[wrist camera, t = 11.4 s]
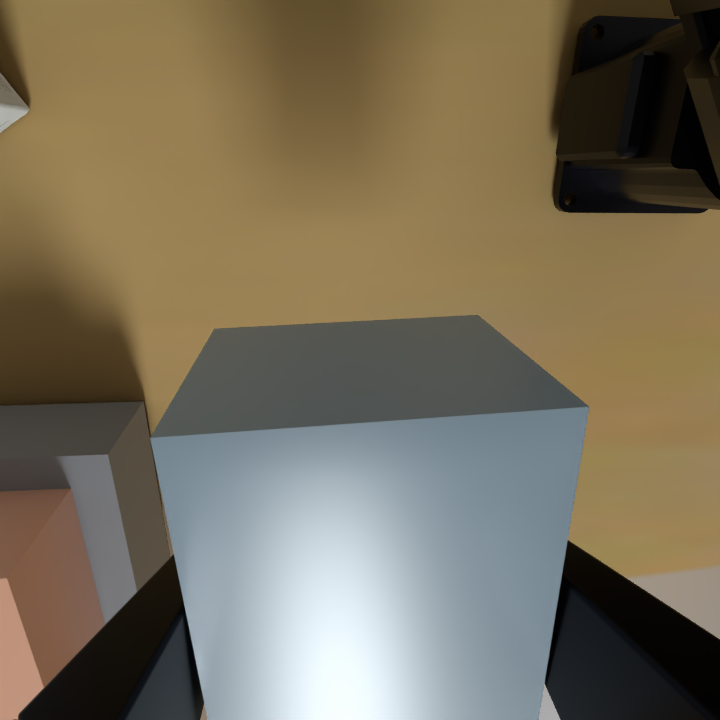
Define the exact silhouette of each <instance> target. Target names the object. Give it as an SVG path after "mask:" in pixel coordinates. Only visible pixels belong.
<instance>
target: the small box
mask: <svg viewBox="0 0 720 720" xmlns="http://www.w3.org/2000/svg"><path fill="white" fill-rule="evenodd" d="M28 111H29V108H28V106H27V105H26V104H25V103H24V101H23V100H22V99H21V98H20V96H19V95H18V94H17V93H16V92H15V90H14V89H13V88H12V87H11V85H10V84H9V83H8V81H7V80H6V79H5V78H4V76H3V75H2V74H1V73H0V133H1V132H2V131H3V130H5V129H6V128H7V127H8V126H10V125H11V124H13V123H14V122H15V121H17V120H18V119H19V118H21V117H22V116H24V115H25V114H26V113H27V112H28Z"/></svg>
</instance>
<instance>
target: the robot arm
mask: <svg viewBox="0 0 720 720" xmlns="http://www.w3.org/2000/svg"><path fill="white" fill-rule="evenodd" d="M670 3H671V6H672V9H673V13H674V16H680V20H679V19H658V18H638V17H617V16H596V17H593V18H591V19H590V20H588V21H586V22H585V23H584V24H583V25H582V26H581V28H580V30H579V33H578V37H577V44H576V51H575V57H574V64H573V71H572V77H571V78H570V79H569V80H568V81H567V83H566V87H565V94H564V101H563V107H562V114H561V121H560V128H559V135H558V142H557V149H556V155H557V157H558V158H559V166H558V172H557V179H556V186H555V193H554V205H555V207H556V208H557V209H558V210H559V211H563V212H569V213H703V212H705V211H706V210H708V209H716V210H720V0H670ZM592 27H593V28H596V30H597V31H598V38H597V40H596V41H593V40H592V38H591V36H590V32H591V29H592ZM568 193H570V194H571V195H572V200H571V202H570V203H569V204H568V205H566V204H565V200H564V199H565V196H566V195H567V194H568ZM545 685H546V688H547V690H548V692H549V694H550V696H551V699H552V701H553V703H554V706H555V708H556V710H557V712H558V715H559V717H560V719H561V720H720V639H718V638H717V637H715V636H714V635H712V634H711V633H709V632H708V631H706V630H705V629H703V628H701V627H700V626H699V625H697V624H696V623H694V622H692V621H691V620H689V619H688V618H686V617H685V616H683V615H682V614H680V613H679V612H677V611H676V610H674V609H673V608H671V607H670V606H668V605H666V604H665V603H663V602H662V601H660V600H659V599H657V598H656V597H654V596H653V595H651V594H650V593H648V592H647V591H645V590H644V589H642V588H640V587H639V586H637V585H636V584H634V583H633V582H631V581H630V580H628V579H627V578H625V577H624V576H622V575H621V574H619V573H618V572H616V571H614V570H613V569H611V568H610V567H608V566H607V565H605V564H604V563H602V562H601V561H599V560H598V559H596V558H595V557H593V556H592V555H590V554H588V553H587V552H585V551H584V550H582V549H581V548H579V547H578V546H576V545H575V544H573V543H572V542H570V541H569V540H568V541H567V547H566V553H565V559H564V566H563V572H562V578H561V584H560V590H559V596H558V603H557V609H556V615H555V621H554V627H553V633H552V640H551V646H550V652H549V658H548V664H547V670H546V677H545ZM203 705H204V699H203V694H202V689H201V684H200V679H199V674H198V669H197V665H196V660H195V655H194V650H193V645H192V640H191V635H190V630H189V625H188V621H187V616H186V611H185V606H184V601H183V596H182V591H181V586H180V581H179V577H178V572H177V567H176V562H175V557H174V554H173V555H172V557H170V558H169V559H168V560H167V561H166V562H165V564H164V565H163V566H162V567H161V568H160V569H159V570H158V571H157V572H156V573H155V574H154V575H153V576H152V577H151V578H150V579H149V580H148V581H147V582H146V583H145V584H144V585H143V586H142V587H141V588H140V589H139V590H138V591H137V592H136V593H135V594H134V595H133V596H132V598H131V599H130V600H129V601H128V602H127V603H126V604H125V605H124V606H123V607H122V608H121V609H120V610H119V611H118V612H117V613H116V614H115V615H114V616H113V617H112V618H111V619H110V620H109V621H108V622H107V623H106V624H105V625H104V626H103V627H102V628H101V629H100V630H99V631H98V633H97V634H96V635H95V636H94V637H93V638H92V639H91V640H90V641H89V642H88V643H87V644H86V645H85V646H84V647H83V648H82V649H81V650H80V651H79V652H78V653H77V654H76V655H75V656H74V657H73V658H72V659H71V660H70V661H69V662H68V663H67V664H66V665H65V667H64V668H63V669H62V670H61V671H60V672H59V673H58V674H57V675H56V676H55V677H54V678H53V679H52V680H51V681H50V682H49V683H48V684H47V685H46V686H45V687H44V688H43V689H42V690H41V691H40V692H39V693H38V694H37V695H36V696H35V697H34V698H33V699H32V700H31V702H30V703H29V704H28V705H27V706H26V707H25V708H24V709H23V710H22V711H21V712H20V713H19V715H18V720H200V718H201V714H202V709H203ZM14 720H17V719H14Z"/></svg>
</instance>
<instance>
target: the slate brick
mask: <svg viewBox="0 0 720 720" xmlns="http://www.w3.org/2000/svg"><path fill="white" fill-rule="evenodd" d="M588 411H589V406H588V405H587V404H585V403H584V402H583V401H582V400H580V399H579V398H578V397H577V396H576V395H574V394H573V393H572V392H571V391H570V390H568V389H567V388H566V387H565V386H563V385H562V384H561V383H560V382H559V381H557V380H556V379H555V378H554V377H552V376H551V375H550V374H549V373H548V372H546V371H545V370H544V369H543V368H542V367H540V366H539V365H538V364H537V363H535V362H534V361H533V360H532V359H531V358H529V357H528V356H527V355H526V354H525V353H523V352H522V351H521V350H520V349H518V348H517V347H516V346H515V345H514V344H512V343H511V342H510V341H509V340H508V339H506V338H505V337H504V336H503V335H501V334H500V333H499V332H498V331H497V330H495V329H494V328H493V327H492V326H490V325H489V324H488V323H487V322H486V321H484V320H483V319H482V318H481V317H480V316H478V315H468V316H449V317H430V318H411V319H392V320H373V321H354V322H334V323H315V324H296V325H277V326H258V327H239V328H220V329H214V330H213V332H212V334H211V336H210V337H209V339H208V341H207V342H206V344H205V346H204V347H203V349H202V351H201V353H200V354H199V356H198V358H197V359H196V361H195V363H194V364H193V366H192V368H191V370H190V371H189V373H188V375H187V376H186V378H185V380H184V381H183V383H182V385H181V386H180V388H179V390H178V392H177V393H176V395H175V397H174V398H173V400H172V402H171V403H170V405H169V407H168V409H167V410H166V412H165V414H164V415H163V417H162V419H161V420H160V422H159V424H158V425H157V427H156V429H155V431H154V432H153V434H152V436H151V437H150V440H151V445H152V449H153V454H154V459H155V464H156V469H157V474H158V479H159V484H160V489H161V493H162V498H163V503H164V508H165V513H166V518H167V523H168V527H169V532H170V537H171V542H172V547H173V552H174V557H175V562H176V567H177V572H178V577H179V581H180V586H181V591H182V596H183V601H184V606H185V611H186V616H187V621H188V625H189V630H190V635H191V640H192V645H193V650H194V655H195V660H196V665H197V669H198V674H199V679H200V684H201V689H202V694H203V699H204V703H205V709H206V713H207V718H208V720H539V714H540V707H541V701H542V695H543V689H544V683H545V677H546V670H547V664H548V658H549V652H550V646H551V640H552V633H553V627H554V621H555V615H556V609H557V603H558V596H559V590H560V584H561V578H562V572H563V566H564V559H565V553H566V547H567V541H568V535H569V529H570V522H571V516H572V510H573V504H574V498H575V492H576V485H577V479H578V473H579V467H580V461H581V455H582V448H583V442H584V436H585V430H586V424H587V418H588Z"/></svg>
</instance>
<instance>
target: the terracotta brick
mask: <svg viewBox="0 0 720 720" xmlns="http://www.w3.org/2000/svg"><path fill="white" fill-rule="evenodd" d="M104 625H105V623H104V619H103V615H102V611H101V607H100V603H99V599H98V595H97V591H96V587H95V583H94V579H93V574H92V570H91V566H90V562H89V558H88V554H87V550H86V546H85V542H84V538H83V534H82V530H81V526H80V522H79V518H78V514H77V510H76V506H75V502H74V498H73V494H72V490H71V489H48V490H25V491H2V492H0V720H14V719H17V720H18V715H19V713H20V712H21V711H22V710H23V709H24V708H25V707H26V706H27V705H28V704H29V703H30V702H31V700H32V699H33V698H34V697H35V696H36V695H37V694H38V693H39V692H40V691H41V690H42V689H43V688H44V687H45V686H46V685H47V684H48V683H49V682H50V681H51V680H52V679H53V678H54V677H55V676H56V675H57V674H58V673H59V672H60V671H61V670H62V669H63V668H64V667H65V665H66V664H67V663H68V662H69V661H70V660H71V659H72V658H73V657H74V656H75V655H76V654H77V653H78V652H79V651H80V650H81V649H82V648H83V647H84V646H85V645H86V644H87V643H88V642H89V641H90V640H91V639H92V638H93V637H94V636H95V635H96V634H97V633H98V631H99V630H100V629H101V628H102V627H103V626H104Z"/></svg>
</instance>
